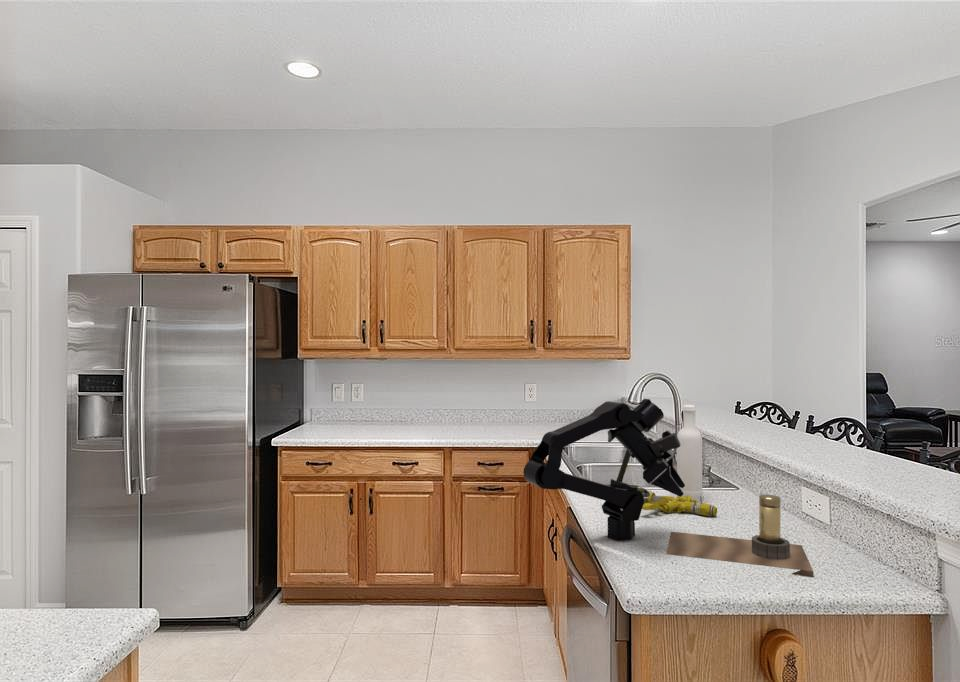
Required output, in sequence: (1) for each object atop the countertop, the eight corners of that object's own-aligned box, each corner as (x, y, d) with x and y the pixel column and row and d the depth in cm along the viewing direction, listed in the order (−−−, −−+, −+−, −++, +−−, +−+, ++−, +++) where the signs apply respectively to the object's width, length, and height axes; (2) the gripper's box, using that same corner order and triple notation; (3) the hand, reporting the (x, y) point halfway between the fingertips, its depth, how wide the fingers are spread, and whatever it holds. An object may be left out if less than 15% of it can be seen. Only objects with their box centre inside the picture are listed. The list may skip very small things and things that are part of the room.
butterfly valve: (638, 496, 197) (599, 498, 187) (657, 439, 193) (618, 439, 183) (657, 510, 190) (618, 513, 180) (677, 452, 186) (639, 452, 176)
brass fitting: (773, 557, 137) (773, 500, 137) (755, 552, 141) (755, 496, 141) (784, 554, 140) (784, 497, 140) (766, 548, 143) (766, 493, 143)
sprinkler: (723, 509, 183) (657, 498, 194) (723, 488, 182) (657, 478, 193) (705, 535, 164) (633, 521, 175) (705, 512, 164) (633, 499, 175)
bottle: (708, 500, 192) (708, 406, 193) (688, 503, 189) (688, 407, 189) (690, 495, 200) (690, 403, 200) (671, 497, 197) (671, 404, 197)
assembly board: (666, 559, 140) (666, 540, 140) (670, 536, 157) (670, 519, 157) (813, 576, 129) (813, 557, 129) (801, 550, 146) (801, 532, 146)
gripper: (657, 426, 142) (707, 477, 138) (663, 417, 159) (708, 462, 155) (623, 457, 145) (671, 508, 141) (632, 445, 162) (675, 490, 158)
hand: (683, 491), depth 149 cm, fingers open, 9 cm apart
